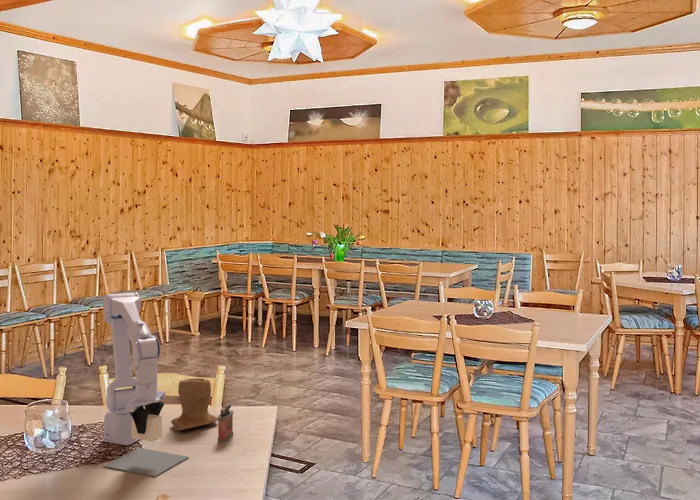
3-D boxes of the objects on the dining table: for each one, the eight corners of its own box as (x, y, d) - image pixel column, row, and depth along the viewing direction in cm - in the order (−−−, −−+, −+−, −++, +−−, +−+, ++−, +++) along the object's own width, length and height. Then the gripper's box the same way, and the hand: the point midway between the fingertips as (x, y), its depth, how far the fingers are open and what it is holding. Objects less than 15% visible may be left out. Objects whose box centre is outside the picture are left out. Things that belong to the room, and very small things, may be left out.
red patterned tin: (225, 442, 213) (225, 410, 212) (215, 442, 214) (215, 409, 213) (235, 434, 221) (235, 402, 220) (225, 433, 222) (225, 401, 221)
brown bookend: (202, 416, 238) (202, 371, 237) (222, 424, 230) (223, 378, 229) (161, 425, 228) (161, 379, 227) (181, 435, 219) (181, 387, 218)
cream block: (152, 441, 193) (152, 420, 193) (131, 438, 196) (131, 416, 195) (161, 437, 197) (161, 415, 196) (141, 433, 199) (140, 412, 199)
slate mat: (103, 467, 193) (103, 465, 193) (139, 449, 207) (139, 447, 207) (155, 477, 187) (155, 475, 187) (188, 458, 200) (188, 456, 200)
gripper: (141, 390, 187) (141, 441, 188) (174, 377, 200) (174, 425, 201) (119, 387, 189) (119, 437, 190) (153, 374, 203) (154, 421, 204)
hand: (146, 430), depth 196 cm, fingers closed on cream block, 4 cm apart
